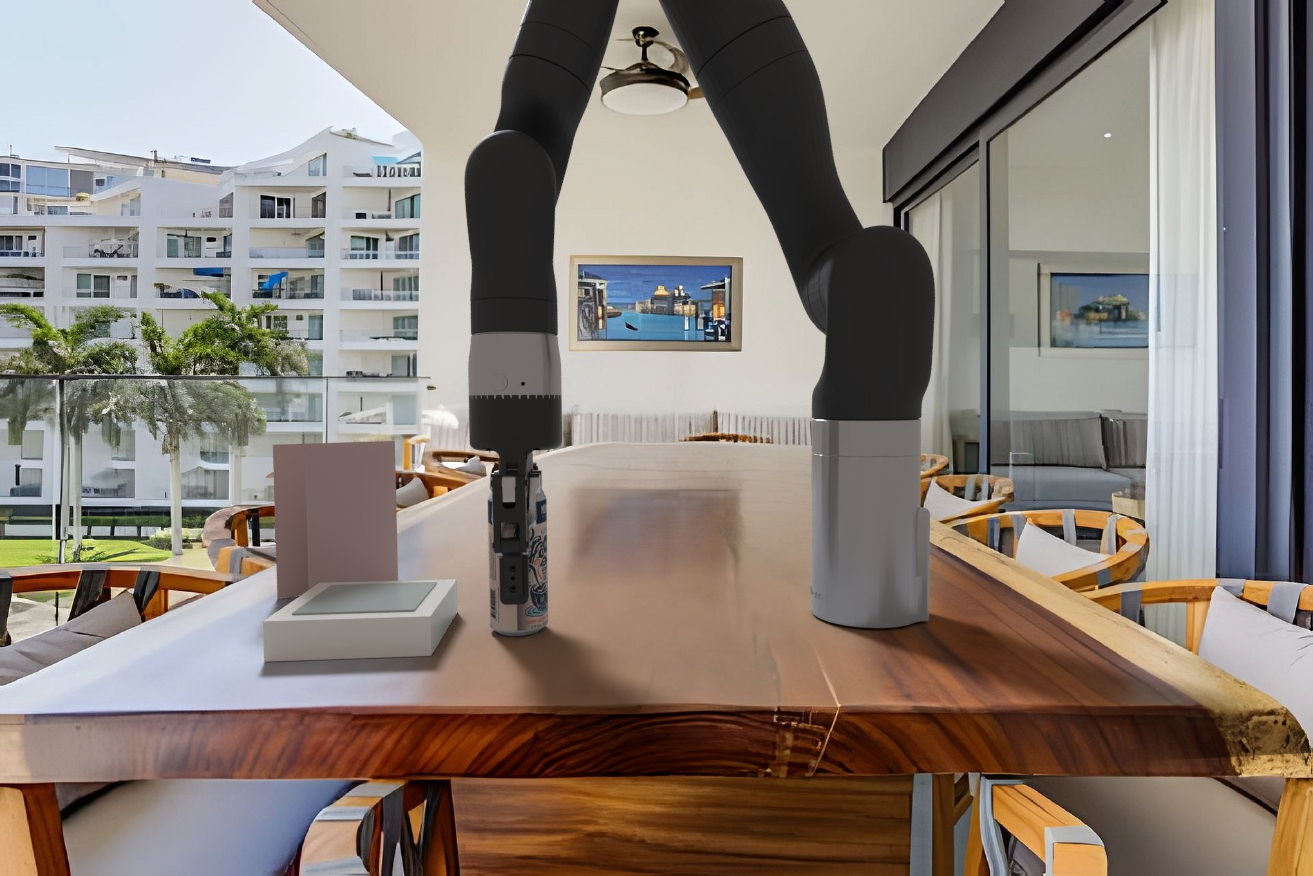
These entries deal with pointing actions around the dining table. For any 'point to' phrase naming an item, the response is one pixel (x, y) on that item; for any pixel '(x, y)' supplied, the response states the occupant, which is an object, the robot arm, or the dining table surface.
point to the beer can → (536, 608)
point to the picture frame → (362, 621)
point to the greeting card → (334, 514)
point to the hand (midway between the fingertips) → (518, 591)
